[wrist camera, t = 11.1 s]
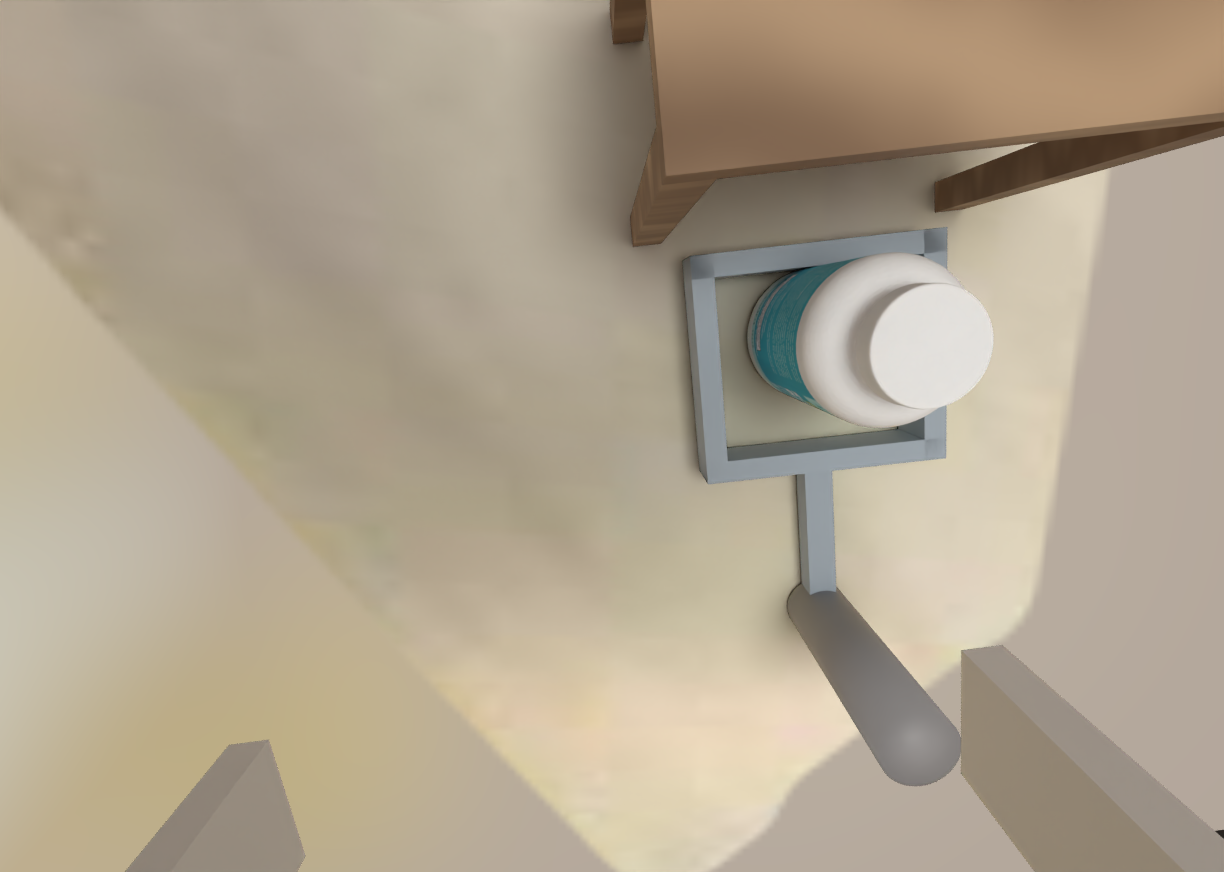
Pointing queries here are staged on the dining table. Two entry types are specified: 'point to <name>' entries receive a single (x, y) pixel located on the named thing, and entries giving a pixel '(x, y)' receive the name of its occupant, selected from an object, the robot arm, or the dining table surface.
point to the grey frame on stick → (828, 510)
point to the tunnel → (918, 89)
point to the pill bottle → (871, 338)
